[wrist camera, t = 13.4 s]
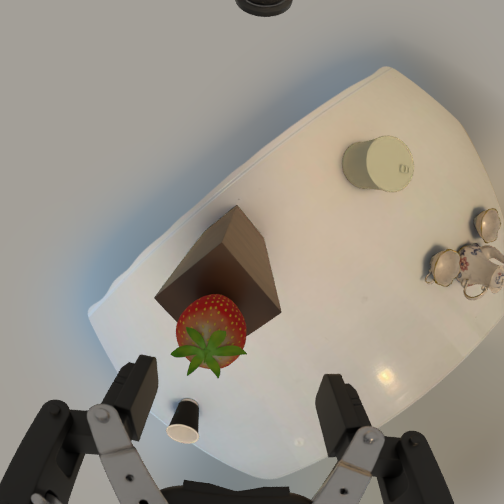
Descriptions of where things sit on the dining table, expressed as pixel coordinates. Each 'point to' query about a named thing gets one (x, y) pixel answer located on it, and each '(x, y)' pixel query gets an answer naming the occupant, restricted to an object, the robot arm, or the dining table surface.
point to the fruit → (210, 333)
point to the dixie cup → (185, 422)
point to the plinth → (226, 272)
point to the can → (379, 164)
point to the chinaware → (472, 260)
